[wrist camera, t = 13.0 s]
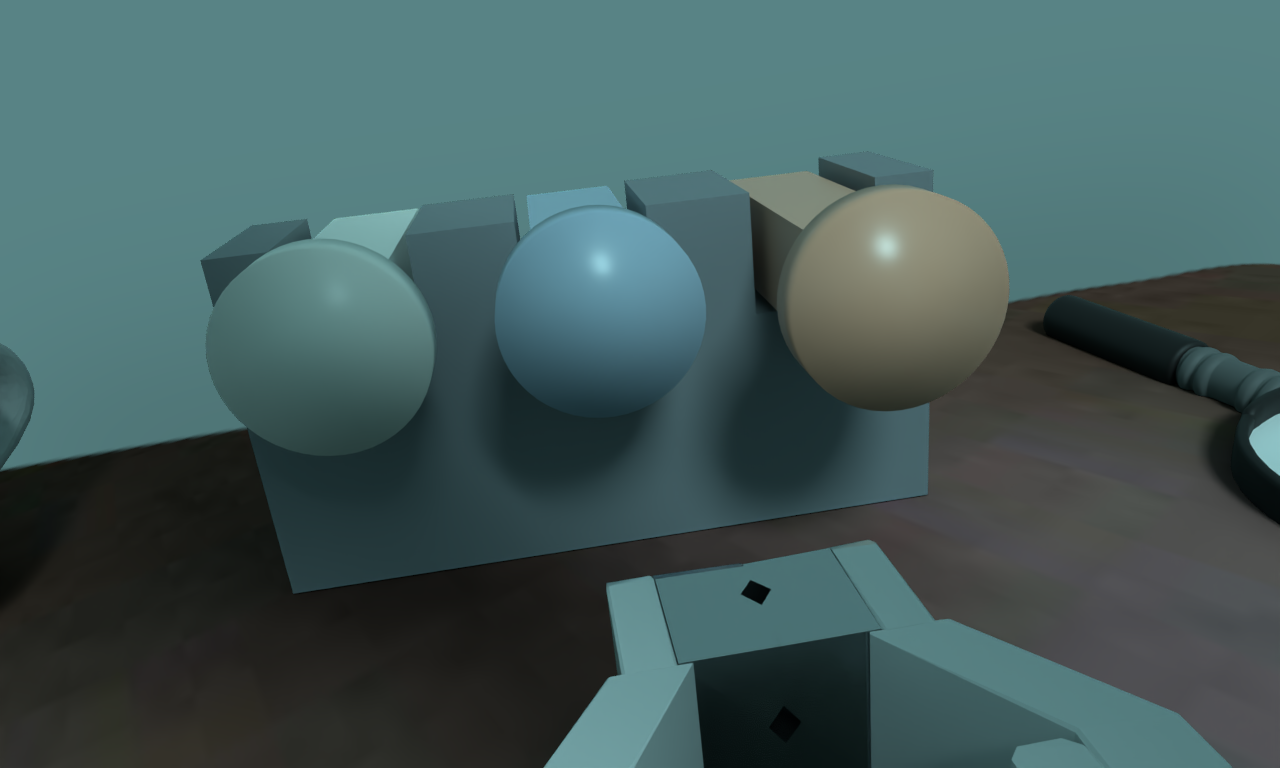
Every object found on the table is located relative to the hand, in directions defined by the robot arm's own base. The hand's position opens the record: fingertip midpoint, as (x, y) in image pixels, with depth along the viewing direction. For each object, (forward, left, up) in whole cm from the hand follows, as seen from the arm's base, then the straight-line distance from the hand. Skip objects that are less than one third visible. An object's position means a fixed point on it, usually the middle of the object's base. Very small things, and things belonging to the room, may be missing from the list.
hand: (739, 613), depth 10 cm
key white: (-7, +18, -3) cm, 19 cm away
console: (0, +19, -9) cm, 21 cm away
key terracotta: (+6, +16, -3) cm, 17 cm away
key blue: (0, +18, -3) cm, 18 cm away
